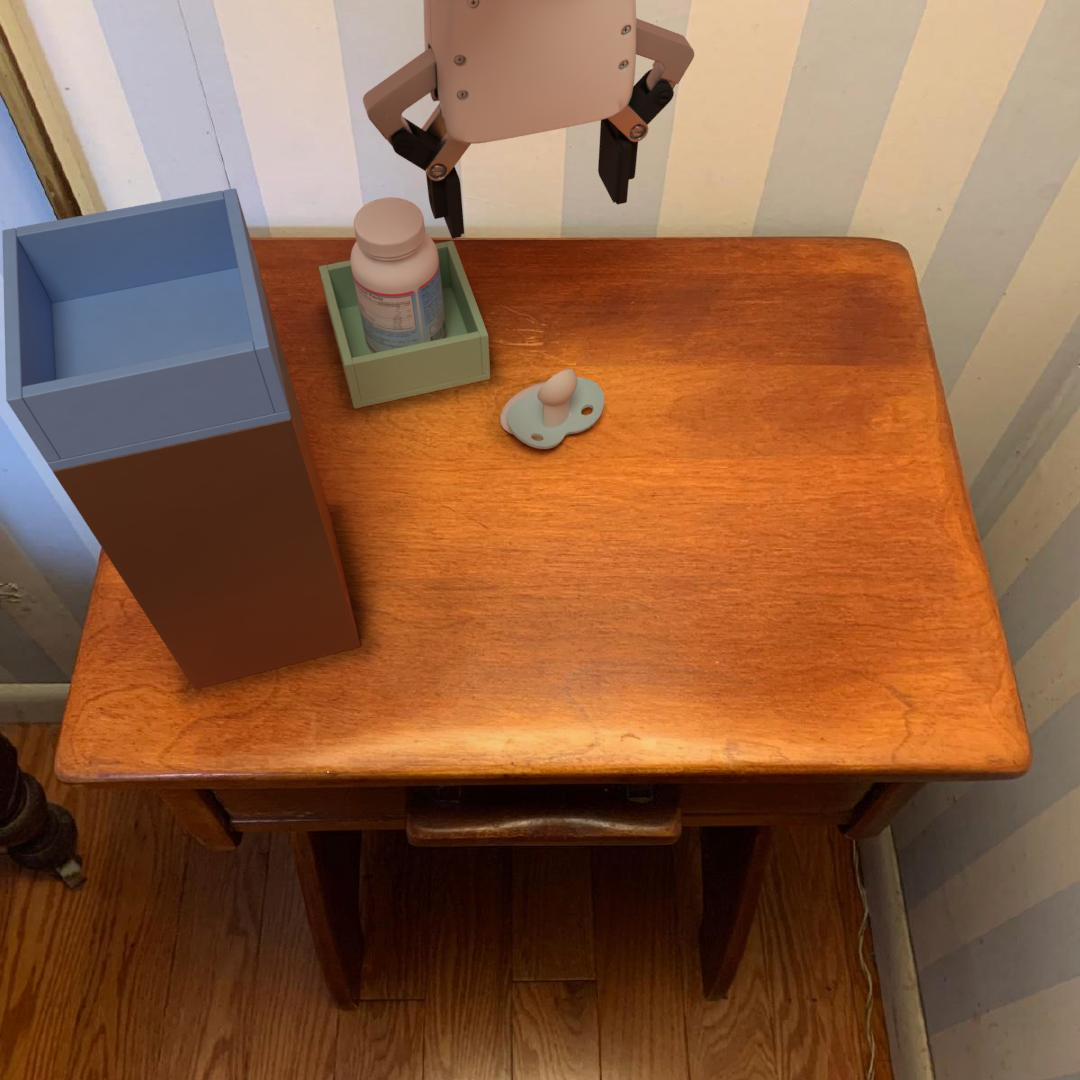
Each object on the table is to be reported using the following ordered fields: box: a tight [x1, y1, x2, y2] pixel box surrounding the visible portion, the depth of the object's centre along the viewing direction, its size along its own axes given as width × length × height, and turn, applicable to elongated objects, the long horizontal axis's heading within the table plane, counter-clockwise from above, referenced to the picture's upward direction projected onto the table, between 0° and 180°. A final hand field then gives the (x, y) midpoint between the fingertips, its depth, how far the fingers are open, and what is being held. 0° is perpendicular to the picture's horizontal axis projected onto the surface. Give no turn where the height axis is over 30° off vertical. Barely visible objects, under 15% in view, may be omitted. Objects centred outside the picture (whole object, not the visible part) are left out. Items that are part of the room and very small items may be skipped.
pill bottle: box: [349, 196, 447, 353], centre depth 72 cm, size 6×6×11 cm
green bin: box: [318, 240, 491, 410], centre depth 76 cm, size 10×10×5 cm
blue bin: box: [1, 187, 361, 690], centre depth 54 cm, size 10×10×27 cm
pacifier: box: [499, 368, 605, 450], centre depth 71 cm, size 7×6×6 cm
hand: (532, 205), depth 59 cm, fingers open, 9 cm apart
